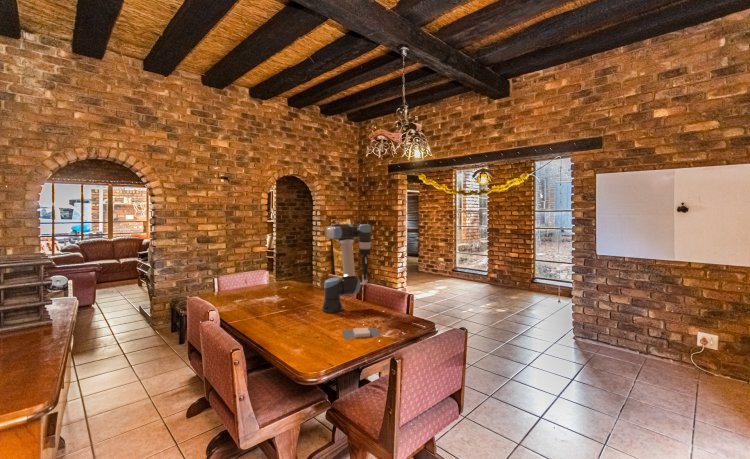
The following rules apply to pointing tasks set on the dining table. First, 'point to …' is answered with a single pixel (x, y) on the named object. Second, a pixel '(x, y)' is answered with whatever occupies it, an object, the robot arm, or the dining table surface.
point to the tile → (361, 332)
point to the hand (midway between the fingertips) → (364, 284)
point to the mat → (350, 335)
